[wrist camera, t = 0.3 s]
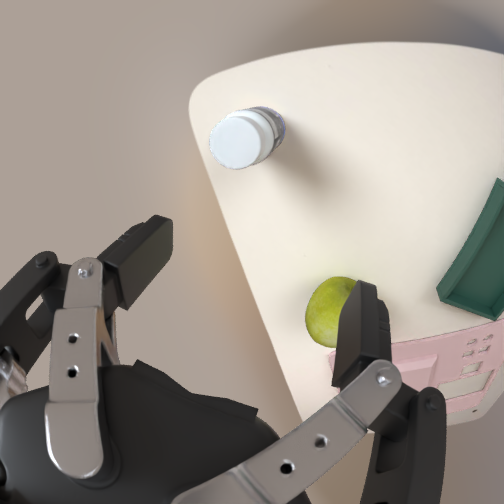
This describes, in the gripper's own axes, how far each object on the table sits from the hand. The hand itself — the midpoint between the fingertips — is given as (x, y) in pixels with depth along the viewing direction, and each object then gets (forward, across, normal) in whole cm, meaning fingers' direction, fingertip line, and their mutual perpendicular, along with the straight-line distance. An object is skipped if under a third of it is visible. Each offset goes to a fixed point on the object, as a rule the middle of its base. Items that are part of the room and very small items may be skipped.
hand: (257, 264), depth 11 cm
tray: (+18, -27, +2) cm, 33 cm away
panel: (+18, -36, +32) cm, 51 cm away
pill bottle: (+18, +5, -2) cm, 19 cm away
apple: (+18, -9, +14) cm, 25 cm away
